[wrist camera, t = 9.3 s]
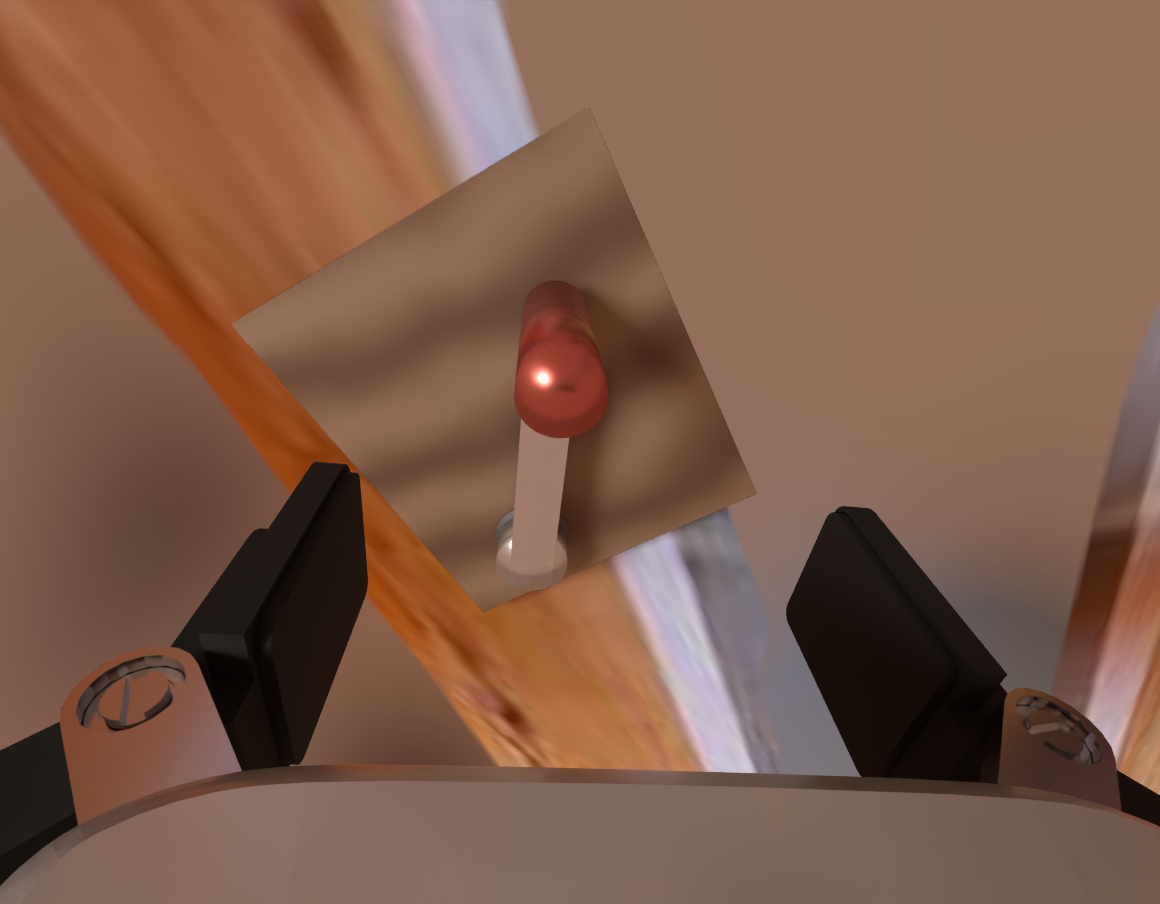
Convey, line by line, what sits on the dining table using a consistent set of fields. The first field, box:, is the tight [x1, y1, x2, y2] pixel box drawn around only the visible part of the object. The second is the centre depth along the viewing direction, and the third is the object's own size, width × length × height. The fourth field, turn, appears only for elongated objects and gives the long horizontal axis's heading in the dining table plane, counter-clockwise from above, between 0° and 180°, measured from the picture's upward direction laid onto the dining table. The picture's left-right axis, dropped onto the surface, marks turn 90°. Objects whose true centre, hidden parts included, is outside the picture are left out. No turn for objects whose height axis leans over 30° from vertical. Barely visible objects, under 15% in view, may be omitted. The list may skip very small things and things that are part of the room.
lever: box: [496, 280, 608, 591], centre depth 26 cm, size 18×4×10 cm, turn 173°
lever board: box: [231, 107, 756, 612], centre depth 31 cm, size 22×19×2 cm
